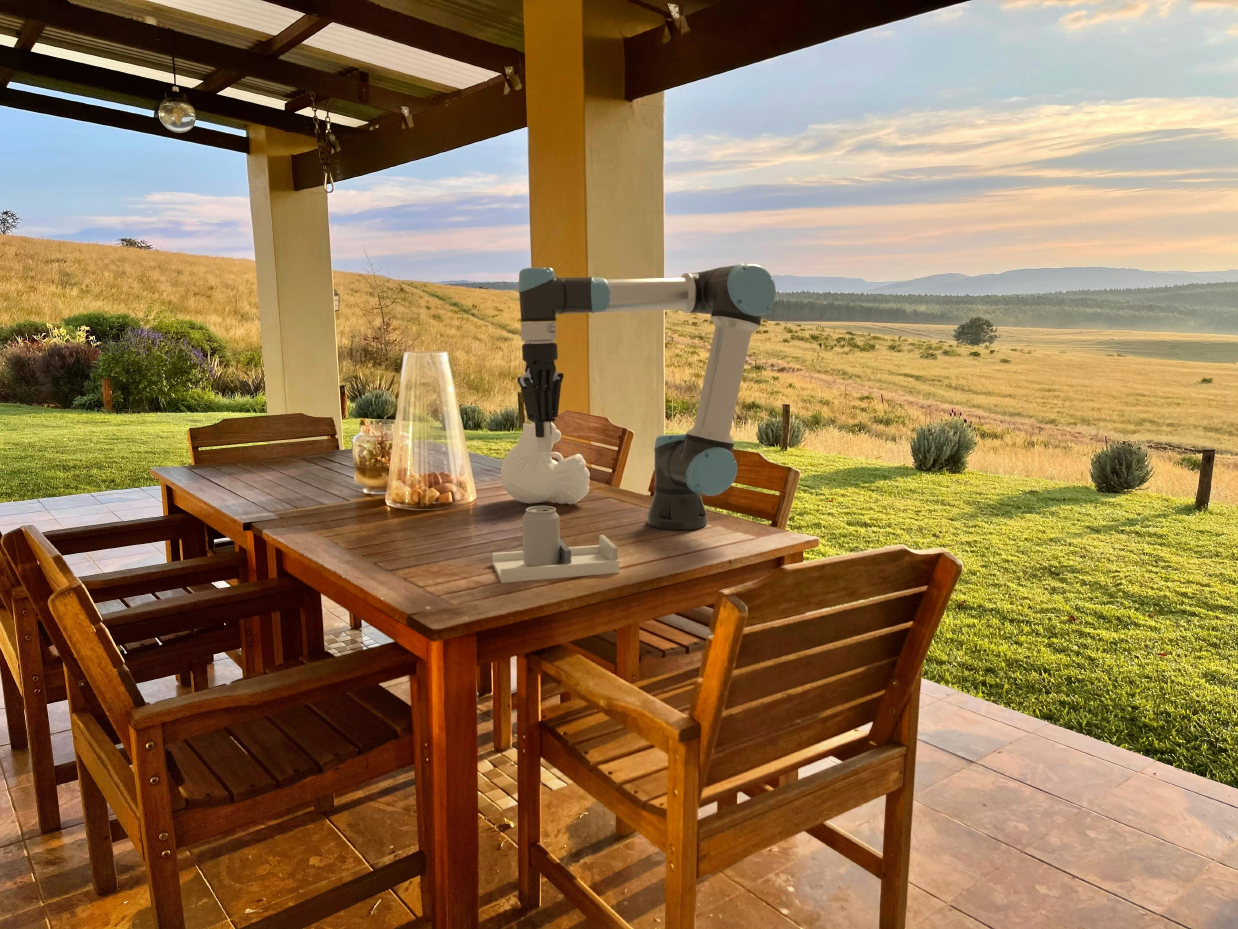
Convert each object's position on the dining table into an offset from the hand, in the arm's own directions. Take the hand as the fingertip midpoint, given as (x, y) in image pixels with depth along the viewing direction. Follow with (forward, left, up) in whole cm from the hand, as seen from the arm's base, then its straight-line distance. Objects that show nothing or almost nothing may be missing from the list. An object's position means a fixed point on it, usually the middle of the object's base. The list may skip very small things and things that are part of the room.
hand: (544, 451), depth 177 cm
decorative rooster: (-9, -49, -23) cm, 55 cm away
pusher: (-1, +13, -22) cm, 25 cm away
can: (+3, +13, -22) cm, 26 cm away
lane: (+1, +13, -23) cm, 26 cm away
